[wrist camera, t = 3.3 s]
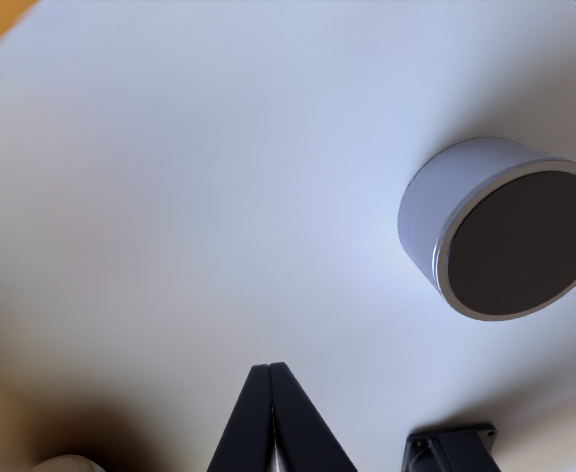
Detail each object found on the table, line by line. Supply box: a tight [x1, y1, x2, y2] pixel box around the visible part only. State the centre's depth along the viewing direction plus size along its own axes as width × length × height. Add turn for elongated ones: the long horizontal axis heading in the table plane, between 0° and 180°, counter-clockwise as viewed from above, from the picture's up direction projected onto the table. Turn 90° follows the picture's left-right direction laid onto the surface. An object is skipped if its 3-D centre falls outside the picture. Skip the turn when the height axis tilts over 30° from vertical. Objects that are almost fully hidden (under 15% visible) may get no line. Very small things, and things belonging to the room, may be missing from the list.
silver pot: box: [398, 137, 576, 321], centre depth 16 cm, size 7×7×4 cm
